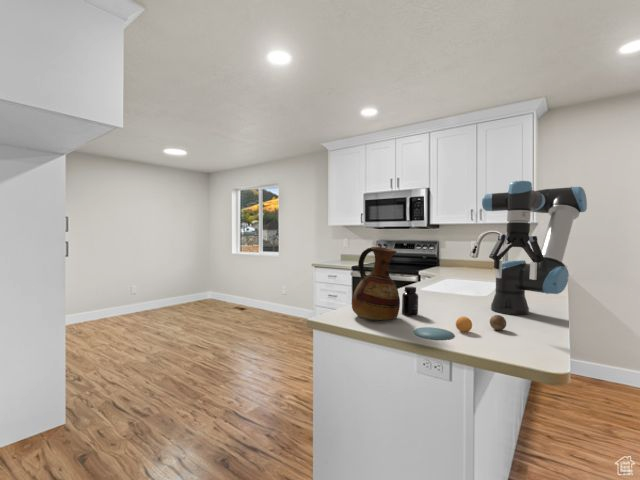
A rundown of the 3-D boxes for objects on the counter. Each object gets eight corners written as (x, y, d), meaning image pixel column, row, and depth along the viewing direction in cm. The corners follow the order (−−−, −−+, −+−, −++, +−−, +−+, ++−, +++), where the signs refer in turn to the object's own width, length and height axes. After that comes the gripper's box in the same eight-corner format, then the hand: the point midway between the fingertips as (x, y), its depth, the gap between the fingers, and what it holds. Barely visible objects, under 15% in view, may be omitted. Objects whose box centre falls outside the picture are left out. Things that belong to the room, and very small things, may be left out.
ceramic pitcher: (391, 327, 128) (392, 248, 127) (343, 320, 137) (344, 246, 136) (405, 315, 145) (406, 246, 144) (361, 310, 154) (362, 245, 154)
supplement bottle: (418, 316, 143) (419, 288, 143) (402, 315, 144) (402, 288, 144) (417, 312, 150) (417, 286, 149) (401, 312, 151) (401, 285, 151)
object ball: (465, 329, 125) (466, 314, 125) (475, 333, 120) (475, 318, 120) (452, 330, 124) (452, 315, 124) (461, 334, 119) (461, 319, 119)
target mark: (440, 327, 128) (440, 326, 128) (462, 338, 114) (462, 338, 114) (406, 328, 125) (406, 328, 125) (424, 341, 112) (424, 340, 112)
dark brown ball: (499, 327, 128) (499, 313, 128) (509, 331, 122) (510, 316, 122) (486, 328, 127) (486, 313, 127) (496, 332, 121) (496, 317, 121)
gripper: (492, 220, 122) (489, 278, 122) (557, 223, 124) (554, 281, 124) (481, 221, 130) (478, 276, 130) (542, 224, 132) (540, 278, 131)
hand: (515, 278), depth 127 cm, fingers open, 13 cm apart
